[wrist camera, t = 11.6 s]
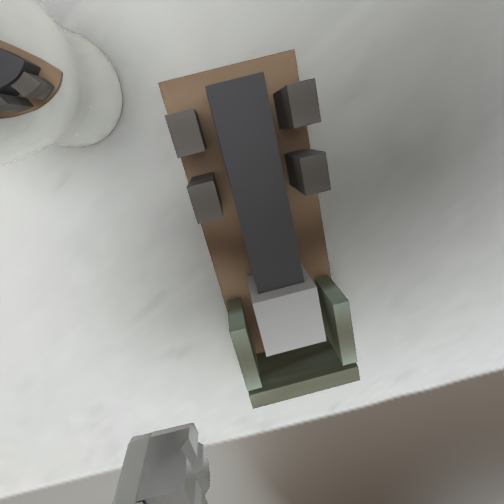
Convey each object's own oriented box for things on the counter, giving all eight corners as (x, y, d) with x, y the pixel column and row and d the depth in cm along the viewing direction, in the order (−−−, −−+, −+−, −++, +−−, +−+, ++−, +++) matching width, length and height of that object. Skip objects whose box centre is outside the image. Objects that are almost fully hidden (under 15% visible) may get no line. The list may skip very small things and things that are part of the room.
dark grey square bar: (197, 94, 19) (194, 85, 15) (264, 78, 19) (276, 65, 15) (258, 322, 25) (266, 356, 21) (309, 309, 25) (326, 340, 21)
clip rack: (161, 85, 20) (144, 70, 15) (290, 53, 20) (313, 28, 15) (244, 363, 27) (250, 411, 22) (337, 338, 27) (363, 381, 23)
